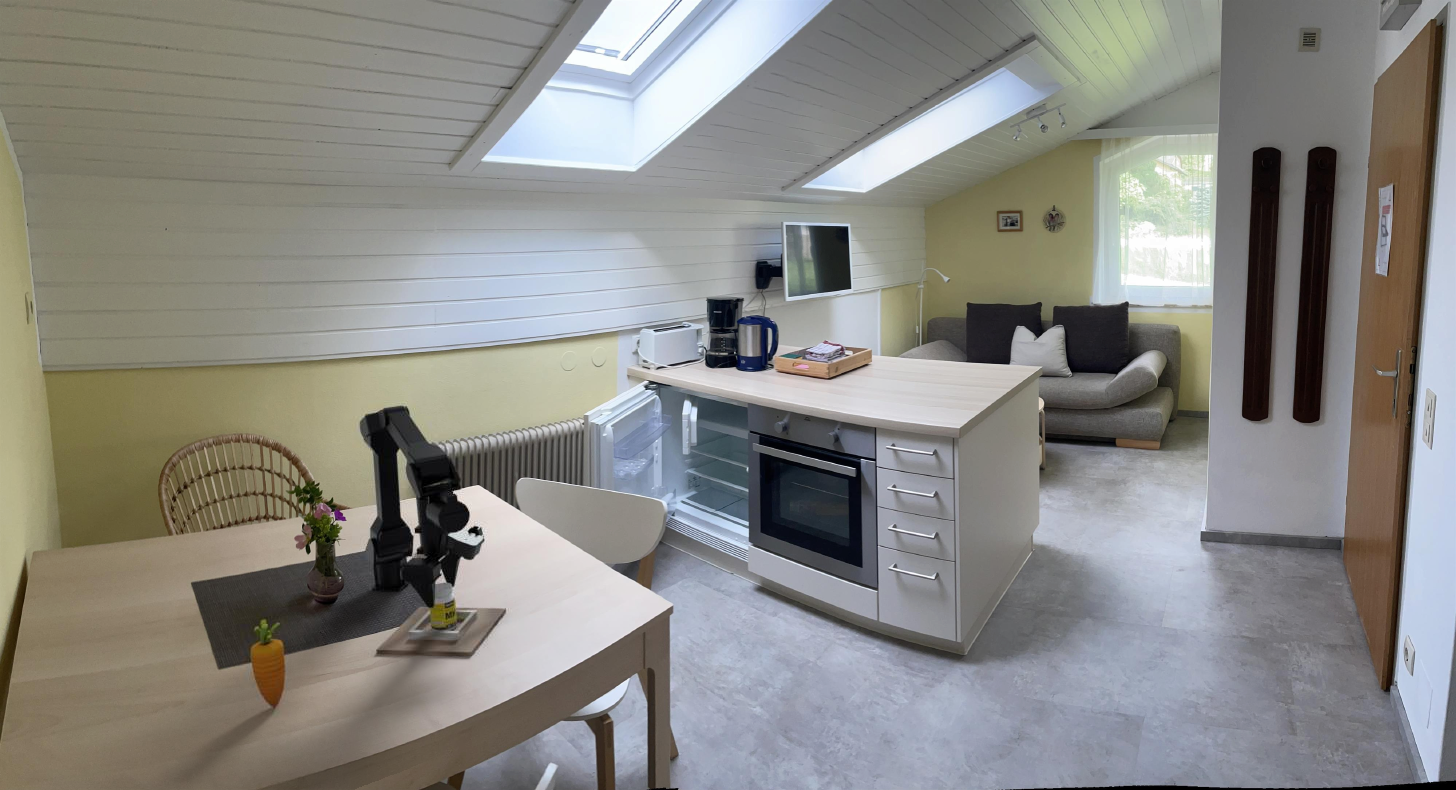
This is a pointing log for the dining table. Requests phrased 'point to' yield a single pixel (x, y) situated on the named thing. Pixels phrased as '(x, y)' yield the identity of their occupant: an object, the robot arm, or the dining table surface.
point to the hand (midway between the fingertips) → (441, 596)
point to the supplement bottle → (443, 608)
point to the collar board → (442, 633)
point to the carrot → (268, 664)
